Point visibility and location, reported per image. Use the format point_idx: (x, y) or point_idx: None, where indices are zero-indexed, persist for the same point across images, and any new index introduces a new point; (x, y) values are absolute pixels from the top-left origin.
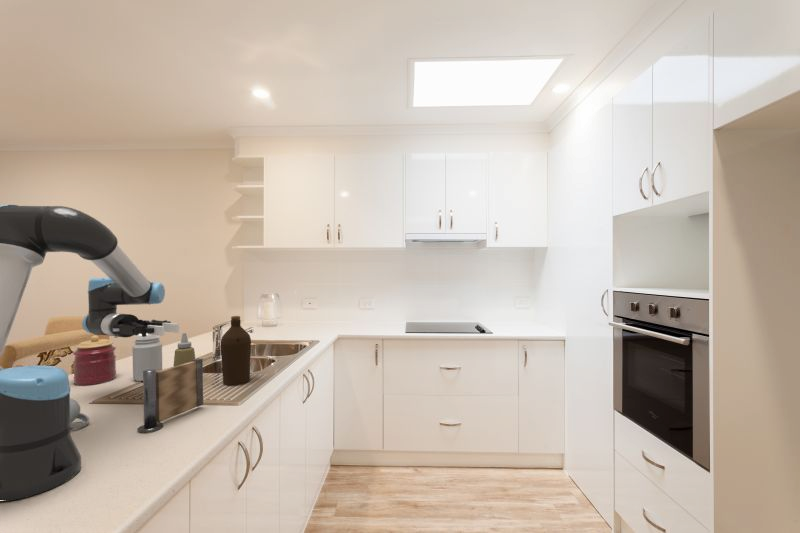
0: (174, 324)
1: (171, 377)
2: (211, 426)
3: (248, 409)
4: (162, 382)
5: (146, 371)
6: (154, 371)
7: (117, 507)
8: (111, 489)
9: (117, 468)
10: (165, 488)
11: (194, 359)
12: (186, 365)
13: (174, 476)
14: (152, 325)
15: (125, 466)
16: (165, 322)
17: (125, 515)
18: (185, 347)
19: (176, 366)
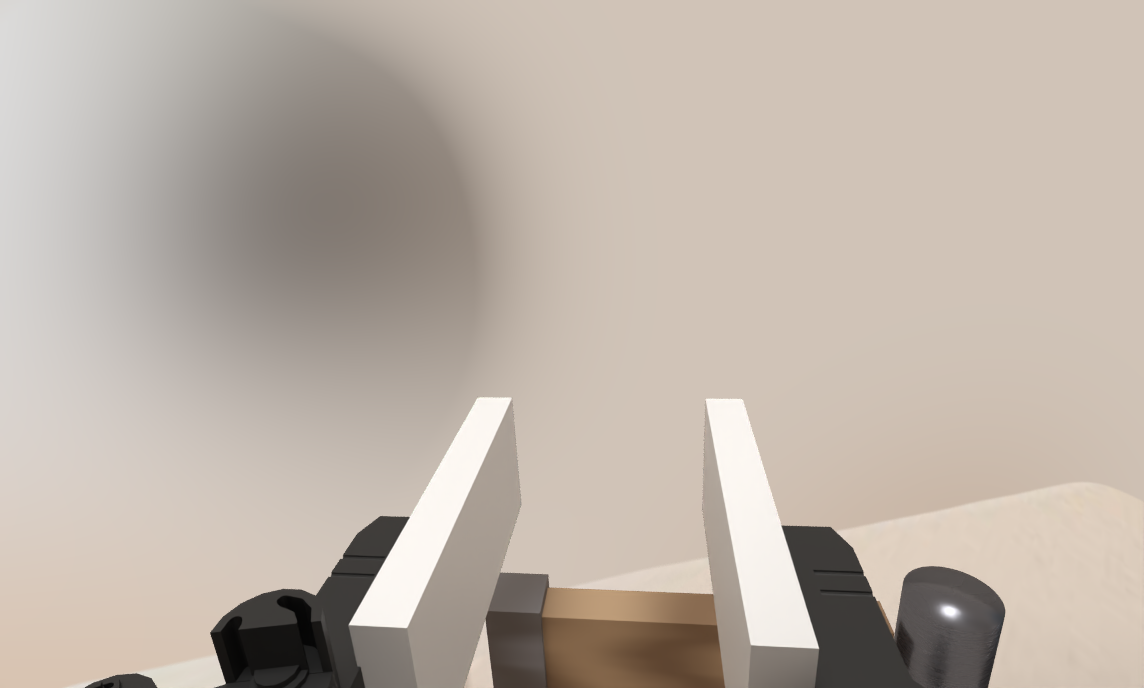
0: (503, 425)
1: None
2: None
3: None
4: None
5: (980, 594)
6: (923, 571)
7: (1109, 522)
8: (1127, 585)
9: (1109, 668)
10: (989, 499)
11: (525, 607)
12: (636, 597)
13: (953, 514)
14: (749, 553)
15: (1079, 656)
16: (312, 632)
17: (1091, 494)
18: None
19: (709, 611)
